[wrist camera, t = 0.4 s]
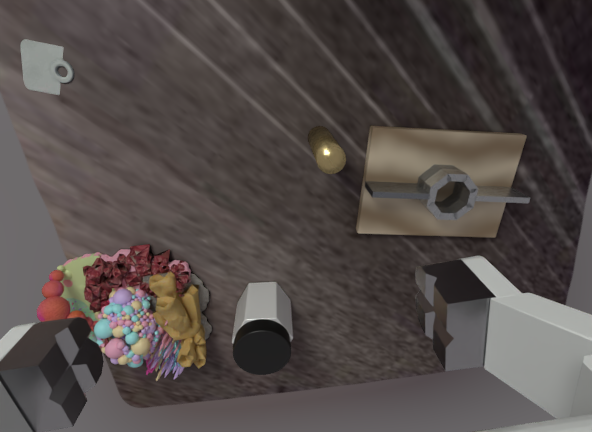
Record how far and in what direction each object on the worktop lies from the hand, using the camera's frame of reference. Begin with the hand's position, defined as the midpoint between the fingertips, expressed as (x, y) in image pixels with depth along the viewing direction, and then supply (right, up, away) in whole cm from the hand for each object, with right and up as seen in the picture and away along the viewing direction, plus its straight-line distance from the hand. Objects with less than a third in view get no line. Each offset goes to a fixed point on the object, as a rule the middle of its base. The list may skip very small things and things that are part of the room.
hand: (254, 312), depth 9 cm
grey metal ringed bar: (+22, +7, +45) cm, 50 cm away
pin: (+4, +13, +42) cm, 45 cm away
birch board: (+22, +7, +46) cm, 52 cm away
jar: (-4, -12, +53) cm, 55 cm away
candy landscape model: (-25, -13, +53) cm, 60 cm away
